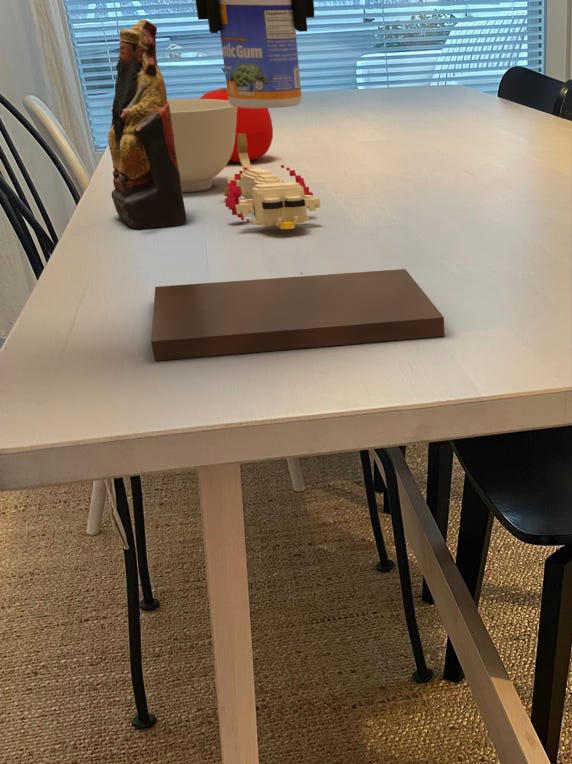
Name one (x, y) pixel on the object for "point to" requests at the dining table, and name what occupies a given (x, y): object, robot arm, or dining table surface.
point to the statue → (143, 137)
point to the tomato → (248, 127)
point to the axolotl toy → (267, 194)
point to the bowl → (202, 139)
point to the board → (290, 314)
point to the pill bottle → (260, 53)
